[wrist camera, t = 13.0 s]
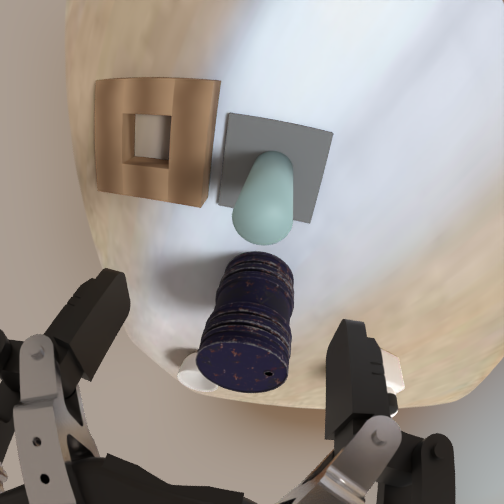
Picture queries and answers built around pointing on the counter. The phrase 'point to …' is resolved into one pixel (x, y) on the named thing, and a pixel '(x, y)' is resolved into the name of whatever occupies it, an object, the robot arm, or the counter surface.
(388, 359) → the medicine bottle
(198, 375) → the teacup
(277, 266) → the storage jar
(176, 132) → the pocket block
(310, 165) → the mat
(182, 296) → the counter surface
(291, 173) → the peg
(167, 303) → the counter surface
